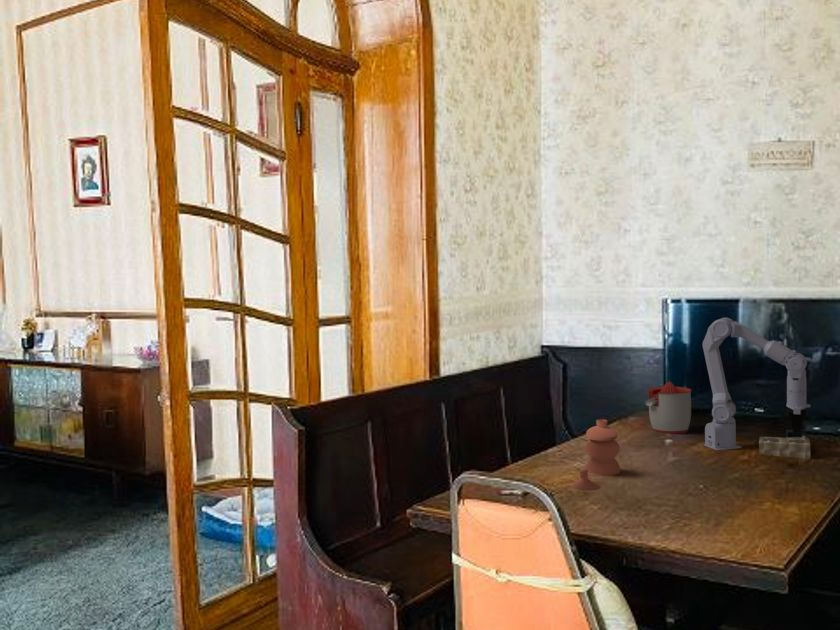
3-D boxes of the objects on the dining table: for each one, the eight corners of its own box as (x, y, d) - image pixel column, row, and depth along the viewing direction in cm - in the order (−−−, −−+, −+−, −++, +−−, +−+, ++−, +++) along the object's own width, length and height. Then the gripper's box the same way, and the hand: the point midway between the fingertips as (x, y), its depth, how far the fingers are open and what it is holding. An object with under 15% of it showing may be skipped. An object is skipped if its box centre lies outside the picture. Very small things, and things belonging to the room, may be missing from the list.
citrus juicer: (636, 432, 299) (635, 380, 297) (675, 428, 304) (674, 377, 303) (660, 440, 284) (659, 386, 283) (701, 436, 289) (700, 382, 288)
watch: (806, 445, 268) (810, 454, 258) (781, 445, 271) (783, 453, 260) (806, 430, 267) (810, 438, 257) (780, 429, 270) (783, 437, 260)
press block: (759, 457, 255) (759, 442, 255) (759, 451, 264) (759, 436, 263) (810, 460, 249) (810, 445, 249) (809, 454, 257) (809, 439, 257)
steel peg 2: (790, 456, 254) (790, 442, 253) (790, 454, 257) (790, 439, 257) (804, 457, 252) (803, 443, 252) (803, 454, 256) (803, 440, 255)
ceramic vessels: (612, 516, 202) (611, 445, 201) (535, 507, 212) (533, 439, 211) (642, 481, 233) (641, 419, 232) (574, 475, 243) (572, 415, 242)
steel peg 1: (765, 455, 257) (765, 441, 257) (765, 452, 261) (765, 438, 260) (778, 456, 255) (778, 441, 255) (778, 453, 259) (778, 439, 259)
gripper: (811, 395, 245) (811, 437, 246) (809, 387, 258) (809, 428, 259) (786, 394, 248) (786, 436, 249) (786, 387, 261) (786, 427, 262)
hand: (796, 432), depth 254 cm, fingers closed
